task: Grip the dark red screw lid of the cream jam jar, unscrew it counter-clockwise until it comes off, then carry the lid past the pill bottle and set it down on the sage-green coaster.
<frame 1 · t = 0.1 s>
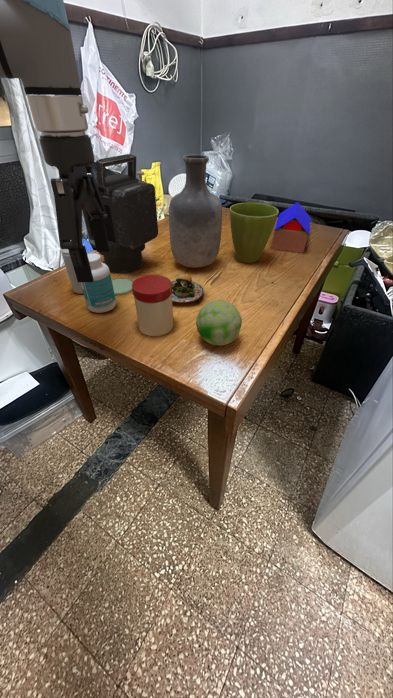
hand: (95, 265, 58), 16 cm above the table, tool pointing down, fingers open, 13 cm apart
jar: (156, 325, 70), on the table
pill bottle: (102, 306, 76), on the table
plate of food: (182, 296, 80), on the table
vase: (195, 264, 95), on the table
beverage can: (82, 291, 82), on the table
flower pot: (247, 259, 99), on the table
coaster: (119, 287, 83), on the table
lantern: (127, 265, 94), on the table
jar lid: (152, 285, 62), point 11 cm above the table, screwed on, not yet turned
decorative ball: (217, 341, 66), on the table
house: (289, 241, 111), on the table
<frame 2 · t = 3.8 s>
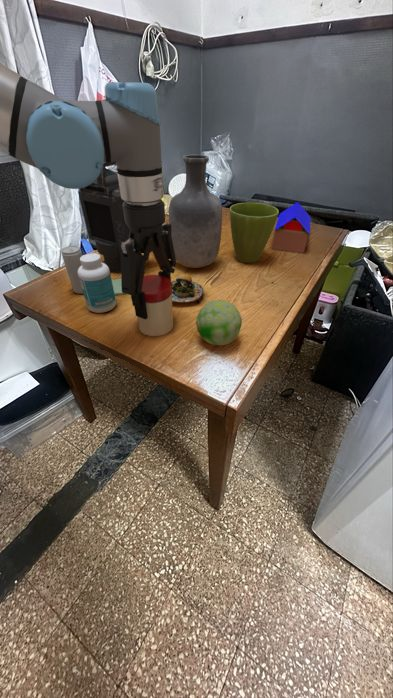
hand: (154, 306, 66), 5 cm above the table, tool pointing down, fingers closed on jar lid, 9 cm apart
jar lid: (152, 285, 62), point 11 cm above the table, screwed on, not yet turned, touching gripper
everything else where it was.
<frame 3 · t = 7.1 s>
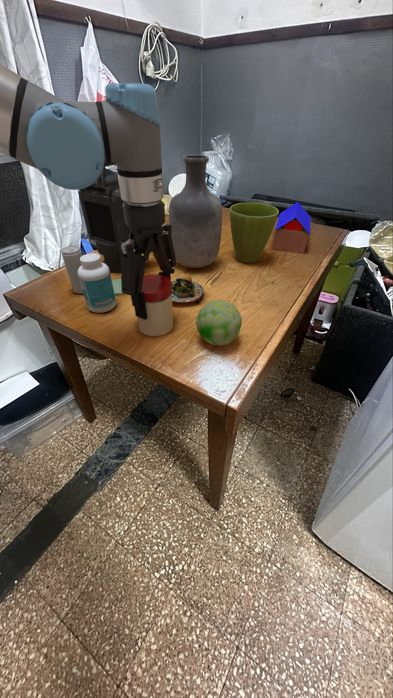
hand: (154, 307, 66), 5 cm above the table, tool pointing down, fingers closed on jar lid, 9 cm apart
jar lid: (151, 284, 62), point 11 cm above the table, turned 104° so far, risen 0.1 cm, still on its thread, touching gripper
everything else where it was.
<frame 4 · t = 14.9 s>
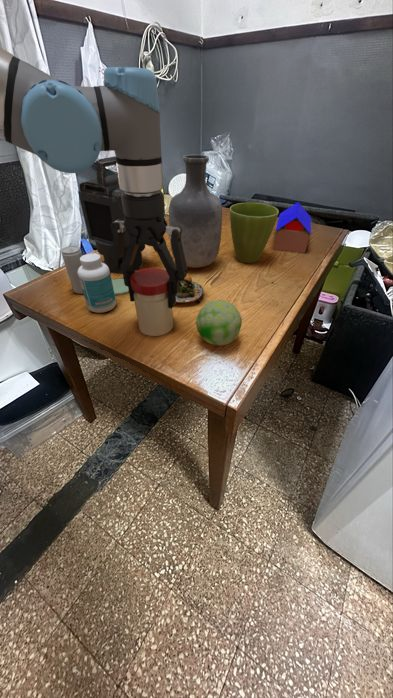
hand: (153, 301, 65), 7 cm above the table, tool pointing down, fingers closed on jar lid, 9 cm apart
jar lid: (150, 278, 61), point 13 cm above the table, off its thread, touching gripper
everything else where it was.
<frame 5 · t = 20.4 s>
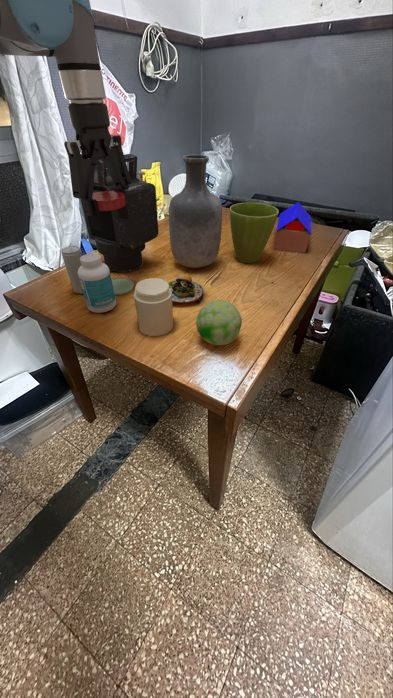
hand: (111, 223, 70), 18 cm above the table, tool pointing down, fingers closed on jar lid, 9 cm apart
lantern: (127, 265, 94), on the table, touching gripper
jar lid: (105, 197, 66), point 24 cm above the table, off its thread, touching gripper
everything else where it was.
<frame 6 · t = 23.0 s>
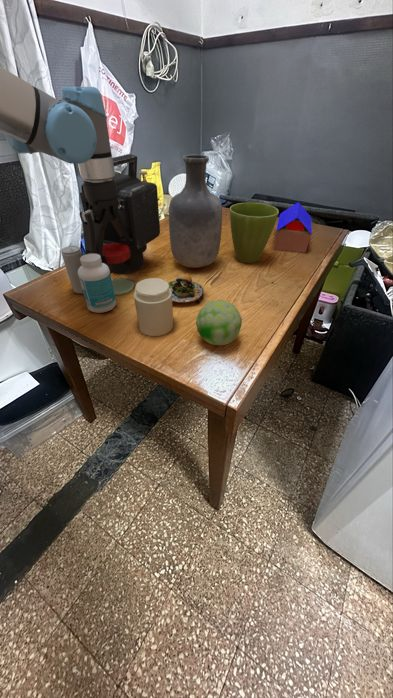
hand: (117, 271, 80), 5 cm above the table, tool pointing down, fingers closed on jar lid, 9 cm apart
pill bottle: (102, 306, 76), on the table, touching gripper
jar lid: (113, 250, 76), point 11 cm above the table, off its thread, touching gripper
when the fingers open (5 cm above the table, at t = 23.7 s): jar lid drops 8 cm, resting on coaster.
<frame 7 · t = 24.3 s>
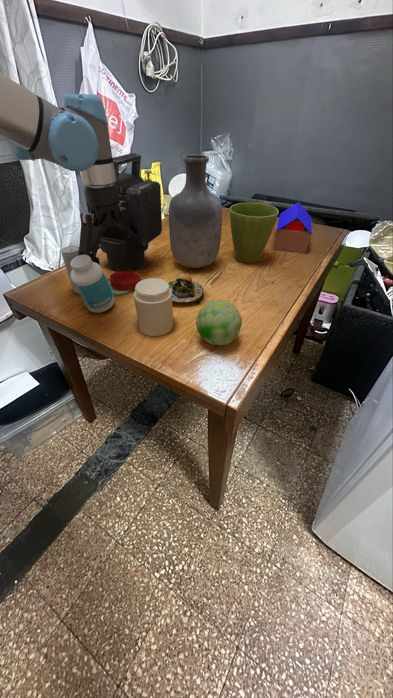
hand: (117, 270, 79), 5 cm above the table, tool pointing down, fingers open, 13 cm apart
lantern: (130, 263, 95), on the table, touching gripper
jar lid: (125, 278, 83), point 2 cm above the table, tilted 8°, off its thread, touching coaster
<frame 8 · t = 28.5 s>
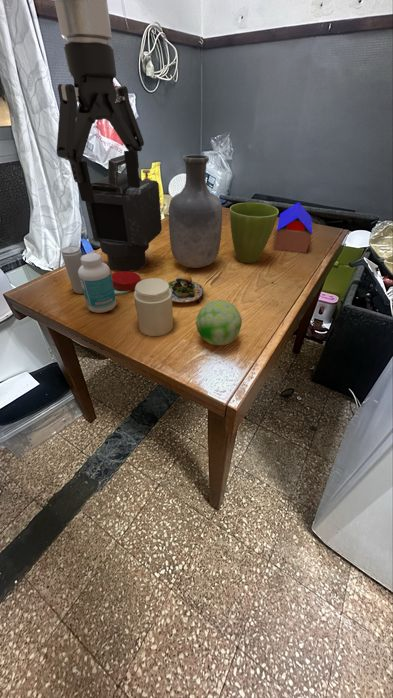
hand: (113, 193, 59), 27 cm above the table, tool pointing down, fingers open, 13 cm apart
pill bottle: (102, 306, 76), on the table
lantern: (131, 264, 95), on the table
everything else where it was.
at the end: jar lid came off its thread; jar lid inside the target area on the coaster (2.2 cm from its centre), point 2.2 cm above the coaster's base; the gripper is holding nothing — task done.
